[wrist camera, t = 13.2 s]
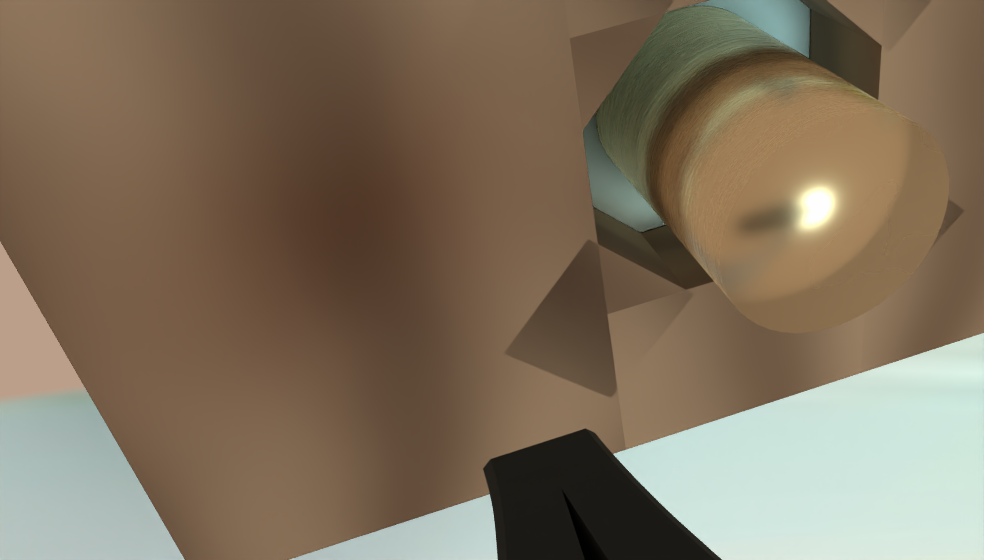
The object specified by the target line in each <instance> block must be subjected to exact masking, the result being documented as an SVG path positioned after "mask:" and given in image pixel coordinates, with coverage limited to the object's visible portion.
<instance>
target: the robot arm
mask: <svg viewBox="0 0 984 560" xmlns="http://www.w3.org/2000/svg"><path fill="white" fill-rule="evenodd" d="M483 471H484V474H485V478H486V482H487V486H488V489H489V493H490V497H491V501H492V506H493V513H494V521H495V529H496V542H497V554H498V560H722V559H721V558H719V557H718V556H717V555H716V554H715V553H714V552H712V551H711V550H710V549H709V548H708V547H707V546H706V545H705V544H704V543H703V542H701V541H700V540H699V539H698V538H697V537H696V536H695V535H694V534H693V533H691V532H690V531H689V530H688V529H687V528H686V527H685V526H684V525H683V524H681V523H680V522H679V521H678V520H677V519H676V518H675V517H674V516H673V515H672V514H671V513H670V512H669V511H668V510H666V509H665V508H664V507H663V506H662V505H661V504H660V503H659V502H658V501H657V500H656V499H655V498H654V497H653V496H652V495H651V494H650V493H649V492H648V491H647V490H646V489H645V488H644V487H643V486H642V485H641V484H640V483H639V482H638V481H637V480H636V479H635V478H634V476H633V475H632V474H631V473H630V472H629V471H628V470H627V469H626V468H625V467H624V466H623V465H622V464H621V463H620V461H619V460H618V459H617V458H616V457H615V456H614V455H613V454H612V452H611V451H610V450H609V449H608V448H607V447H606V446H605V444H604V443H603V442H602V441H601V440H600V438H599V437H598V436H597V435H596V433H594V432H592V431H590V430H588V429H586V428H585V429H582V430H579V431H576V432H573V433H570V434H566V435H563V436H560V437H557V438H554V439H551V440H548V441H545V442H542V443H539V444H535V445H532V446H529V447H526V448H523V449H520V450H517V451H514V452H511V453H507V454H504V455H501V456H498V457H495V458H492V459H490V460H489V461H488V463H487V464H486V465H485V467H484V468H483Z"/></svg>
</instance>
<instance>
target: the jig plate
mask: <svg viewBox="0 0 984 560" xmlns="http://www.w3.org/2000/svg"><path fill="white" fill-rule="evenodd" d="M705 1H708V0H0V241H1V243H2V245H3V246H4V248H5V250H6V252H7V254H8V255H9V257H10V259H11V260H12V262H13V264H14V266H15V267H16V269H17V271H18V273H19V274H20V276H21V278H22V279H23V281H24V283H25V285H26V286H27V288H28V290H29V292H30V293H31V295H32V296H33V298H34V300H35V302H36V304H37V305H38V307H39V309H40V310H41V312H42V314H43V316H44V317H45V319H46V321H47V323H48V324H49V326H50V328H51V329H52V331H53V333H54V335H55V336H56V338H57V340H58V342H59V343H60V345H61V347H62V348H63V350H64V352H65V354H66V355H67V357H68V359H69V361H70V362H71V364H72V366H73V367H74V369H75V371H76V373H77V374H78V376H79V378H80V379H81V381H82V383H83V385H84V386H85V388H86V390H87V392H88V393H89V395H90V397H91V398H92V400H93V402H94V404H95V405H96V407H97V409H98V411H99V412H100V414H101V416H102V417H103V419H104V421H105V423H106V424H107V426H108V428H109V430H110V431H111V433H112V435H113V436H114V438H115V440H116V442H117V443H118V445H119V447H120V449H121V450H122V452H123V454H124V455H125V457H126V459H127V461H128V462H129V464H130V466H131V467H132V469H133V471H134V473H135V474H136V476H137V478H138V480H139V481H140V483H141V485H142V486H143V488H144V490H145V492H146V493H147V495H148V497H149V499H150V500H151V502H152V504H153V505H154V507H155V509H156V511H157V512H158V514H159V516H160V518H161V519H162V521H163V523H164V524H165V526H166V528H167V530H168V531H169V533H170V535H171V536H172V538H173V540H174V542H175V543H176V545H177V547H178V549H179V550H180V552H181V554H182V555H183V557H184V559H185V560H289V559H292V558H295V557H298V556H301V555H304V554H307V553H310V552H314V551H317V550H320V549H323V548H326V547H329V546H332V545H335V544H338V543H341V542H344V541H347V540H350V539H353V538H356V537H359V536H363V535H366V534H369V533H372V532H375V531H378V530H381V529H384V528H387V527H390V526H393V525H396V524H399V523H402V522H405V521H408V520H412V519H415V518H418V517H421V516H424V515H427V514H430V513H433V512H436V511H439V510H442V509H445V508H448V507H451V506H454V505H458V504H461V503H464V502H467V501H470V500H473V499H476V498H479V497H482V496H485V495H488V494H490V493H489V489H488V486H487V482H486V478H485V474H484V471H483V468H484V467H485V465H486V464H487V463H488V461H489V460H490V459H492V458H495V457H498V456H501V455H504V454H507V453H511V452H514V451H517V450H520V449H523V448H526V447H529V446H532V445H535V444H539V443H542V442H545V441H548V440H551V439H554V438H557V437H560V436H563V435H566V434H570V433H573V432H576V431H579V430H582V429H585V428H586V429H588V430H590V431H592V432H594V433H596V435H597V436H598V437H599V438H600V440H601V441H602V442H603V443H604V444H605V446H606V447H607V448H608V449H609V450H610V451H611V452H612V454H614V453H617V452H620V451H623V450H626V449H629V448H632V447H635V446H638V445H641V444H644V443H647V442H651V441H654V440H657V439H660V438H663V437H666V436H669V435H672V434H675V433H678V432H681V431H684V430H687V429H690V428H693V427H696V426H700V425H703V424H706V423H709V422H712V421H715V420H718V419H721V418H724V417H727V416H730V415H733V414H736V413H739V412H742V411H745V410H749V409H752V408H755V407H758V406H761V405H764V404H767V403H770V402H773V401H776V400H779V399H782V398H785V397H788V396H791V395H794V394H798V393H801V392H804V391H807V390H810V389H813V388H816V387H819V386H822V385H825V384H828V383H831V382H834V381H837V380H840V379H844V378H847V377H850V376H853V375H856V374H859V373H862V372H865V371H868V370H871V369H874V368H877V367H880V366H883V365H886V364H889V363H893V362H896V361H899V360H902V359H905V358H908V357H911V356H914V355H917V354H920V353H923V352H926V351H929V350H932V349H935V348H938V347H942V346H945V345H948V344H951V343H954V342H957V341H960V340H963V339H966V338H969V337H972V336H975V335H978V334H981V333H984V0H800V1H802V2H803V3H804V4H805V5H807V6H808V7H809V8H810V9H811V44H810V60H812V61H814V62H815V63H817V64H819V65H820V66H822V67H824V68H825V69H827V70H829V71H830V72H832V73H834V74H835V75H837V76H839V77H840V78H842V79H844V80H845V81H847V82H849V83H850V84H852V85H854V86H855V87H857V88H859V89H860V90H862V91H864V92H865V93H867V94H869V95H870V96H872V97H874V98H875V99H877V100H879V101H880V102H882V103H884V104H885V105H887V106H889V107H890V108H892V109H894V110H895V111H897V112H899V113H900V114H902V115H904V116H905V117H907V118H909V119H910V120H912V121H914V122H915V123H917V124H919V125H920V126H922V127H923V128H924V129H925V130H926V131H927V132H928V133H930V134H931V136H932V137H933V138H934V139H935V141H936V142H937V143H938V145H939V147H940V149H941V151H942V153H943V155H944V158H945V161H946V164H947V168H948V176H949V196H948V203H947V209H946V212H945V216H944V219H943V223H942V225H941V227H940V230H939V232H938V235H937V237H936V239H935V241H934V243H933V245H932V246H931V248H930V250H929V252H928V253H927V255H926V256H925V258H924V259H923V261H922V262H921V264H920V265H919V266H918V267H917V269H916V270H915V271H914V272H913V274H912V275H911V276H910V277H909V278H908V279H907V280H906V281H905V282H904V283H903V284H902V285H901V286H900V287H899V288H898V289H897V290H896V291H895V292H894V293H892V294H891V295H890V296H889V297H888V298H886V299H885V300H884V301H882V302H881V303H880V304H878V305H877V306H876V307H874V308H872V309H871V310H869V311H867V312H866V313H864V314H862V315H860V316H858V317H856V318H854V319H852V320H850V321H848V322H846V323H843V324H840V325H838V326H835V327H831V328H828V329H824V330H820V331H814V332H807V333H788V332H779V331H775V330H770V329H767V328H765V327H762V326H760V325H758V324H756V323H754V322H753V321H751V320H749V319H748V318H747V317H745V316H744V315H743V314H742V313H741V312H740V311H739V310H738V309H737V308H736V307H735V305H734V304H733V303H732V302H731V301H730V300H729V298H728V297H727V296H726V295H725V294H724V292H723V291H722V290H721V289H720V288H719V287H718V285H717V284H716V283H715V282H714V281H713V279H712V278H711V277H710V276H709V275H708V273H707V272H706V271H705V270H704V269H703V268H702V266H701V265H700V264H699V263H698V262H697V260H696V259H695V258H694V257H693V256H692V255H691V253H690V252H689V251H688V250H687V249H686V247H685V246H684V245H683V244H682V243H681V242H680V240H679V239H678V238H677V237H676V236H675V234H674V233H673V232H672V231H671V230H670V229H669V227H668V226H664V227H660V228H657V229H654V230H650V231H647V232H644V233H639V232H638V231H636V230H634V229H632V228H630V227H628V226H626V225H625V224H623V223H621V222H619V221H617V220H615V219H614V218H612V217H610V216H608V215H606V214H604V213H603V212H601V211H599V210H597V209H595V208H593V205H592V198H591V191H590V183H589V176H588V169H587V161H586V154H585V147H584V139H583V132H582V131H583V129H584V128H585V127H586V125H587V124H588V122H589V121H590V119H591V118H592V117H593V115H594V114H595V112H596V111H597V109H598V108H599V107H600V105H601V104H602V102H603V101H604V99H605V98H606V97H607V95H608V94H609V92H610V91H611V89H612V88H613V87H614V85H615V84H616V82H617V81H618V79H619V78H620V77H621V75H622V74H623V72H624V71H625V70H626V68H627V67H628V65H629V64H630V62H631V61H632V60H633V58H634V57H635V55H636V54H637V52H638V51H639V50H640V48H641V47H642V45H643V44H644V42H645V41H646V40H647V38H648V37H649V35H650V34H651V32H652V31H653V30H654V28H655V27H656V25H657V24H658V23H659V21H660V20H661V18H662V17H663V15H664V14H665V13H666V12H668V11H672V10H675V9H679V8H683V7H686V6H690V5H694V4H697V3H701V2H705Z"/></svg>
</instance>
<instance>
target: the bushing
mask: <svg viewBox="0 0 984 560" xmlns="http://www.w3.org/2000/svg"><path fill="white" fill-rule="evenodd" d="M596 123H597V129H598V134H599V138H600V140H601V143H602V145H603V147H604V149H605V151H606V153H607V154H608V156H609V157H610V158H611V160H612V161H613V162H614V163H615V165H616V166H617V167H618V168H619V169H620V171H621V172H622V173H623V174H624V175H625V176H626V178H627V179H628V180H629V181H630V182H631V184H632V185H633V186H634V187H635V188H636V189H637V191H638V192H639V193H640V194H641V195H642V197H643V198H644V199H645V200H646V201H647V202H648V204H649V205H650V206H651V207H652V208H653V210H654V211H655V212H656V213H657V214H658V216H659V217H660V218H661V219H662V220H663V221H664V223H665V224H666V225H667V226H668V227H669V229H670V230H671V231H672V232H673V233H674V234H675V236H676V237H677V238H678V239H679V240H680V242H681V243H682V244H683V245H684V246H685V247H686V249H687V250H688V251H689V252H690V253H691V255H692V256H693V257H694V258H695V259H696V260H697V262H698V263H699V264H700V265H701V266H702V268H703V269H704V270H705V271H706V272H707V273H708V275H709V276H710V277H711V278H712V279H713V281H714V282H715V283H716V284H717V285H718V287H719V288H720V289H721V290H722V291H723V292H724V294H725V295H726V296H727V297H728V298H729V300H730V301H731V302H732V303H733V304H734V305H735V307H736V308H737V309H738V310H739V311H740V312H741V313H742V314H743V315H744V316H745V317H747V318H748V319H749V320H751V321H753V322H754V323H756V324H758V325H760V326H762V327H765V328H767V329H770V330H775V331H779V332H788V333H807V332H814V331H820V330H824V329H828V328H831V327H835V326H838V325H840V324H843V323H846V322H848V321H850V320H852V319H854V318H856V317H858V316H860V315H862V314H864V313H866V312H867V311H869V310H871V309H872V308H874V307H876V306H877V305H878V304H880V303H881V302H882V301H884V300H885V299H886V298H888V297H889V296H890V295H891V294H892V293H894V292H895V291H896V290H897V289H898V288H899V287H900V286H901V285H902V284H903V283H904V282H905V281H906V280H907V279H908V278H909V277H910V276H911V275H912V274H913V272H914V271H915V270H916V269H917V267H918V266H919V265H920V264H921V262H922V261H923V259H924V258H925V256H926V255H927V253H928V252H929V250H930V248H931V246H932V245H933V243H934V241H935V239H936V237H937V235H938V232H939V230H940V227H941V225H942V223H943V219H944V216H945V212H946V209H947V203H948V196H949V176H948V168H947V164H946V161H945V158H944V155H943V153H942V151H941V149H940V147H939V145H938V143H937V142H936V141H935V139H934V138H933V137H932V136H931V134H930V133H928V132H927V131H926V130H925V129H924V128H923V127H922V126H920V125H919V124H917V123H915V122H914V121H912V120H910V119H909V118H907V117H905V116H904V115H902V114H900V113H899V112H897V111H895V110H894V109H892V108H890V107H889V106H887V105H885V104H884V103H882V102H880V101H879V100H877V99H875V98H874V97H872V96H870V95H869V94H867V93H865V92H864V91H862V90H860V89H859V88H857V87H855V86H854V85H852V84H850V83H849V82H847V81H845V80H844V79H842V78H840V77H839V76H837V75H835V74H834V73H832V72H830V71H829V70H827V69H825V68H824V67H822V66H820V65H819V64H817V63H815V62H814V61H812V60H810V59H809V58H807V57H805V56H804V55H802V54H800V53H799V52H797V51H795V50H794V49H792V48H790V47H789V46H787V45H785V44H784V43H782V42H780V41H779V40H777V39H775V38H774V37H772V36H770V35H769V34H767V33H765V32H764V31H762V30H760V29H759V28H757V27H755V26H754V25H752V24H751V23H749V22H747V21H746V20H744V19H742V18H740V17H739V16H737V15H735V14H734V13H732V12H729V11H726V10H724V9H720V8H716V7H710V6H692V7H685V8H680V9H676V10H673V11H670V12H668V13H665V14H664V15H663V17H662V18H661V20H660V21H659V23H658V24H657V25H656V27H655V28H654V30H653V31H652V32H651V34H650V35H649V37H648V38H647V40H646V41H645V42H644V44H643V45H642V47H641V48H640V50H639V51H638V52H637V54H636V55H635V57H634V58H633V60H632V61H631V62H630V64H629V65H628V67H627V68H626V70H625V71H624V72H623V74H622V75H621V77H620V78H619V79H618V81H617V82H616V84H615V85H614V87H613V88H612V89H611V91H610V92H609V94H608V95H607V97H606V98H605V99H604V101H603V102H602V104H601V105H600V107H599V108H598V109H597V111H596Z"/></svg>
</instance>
